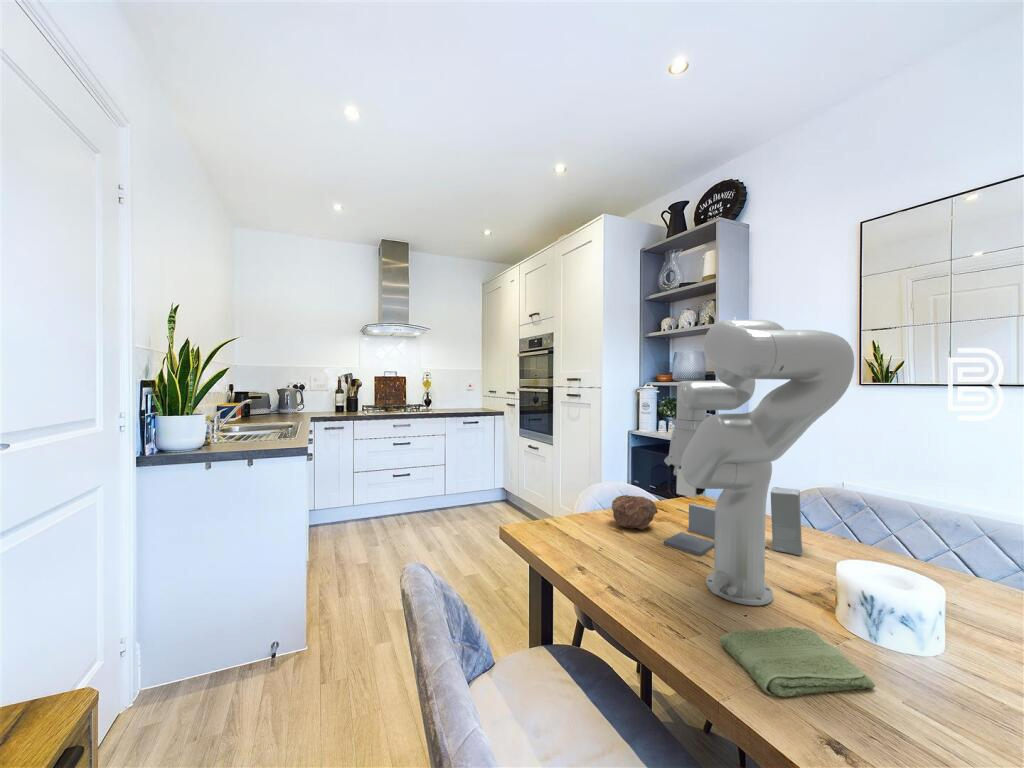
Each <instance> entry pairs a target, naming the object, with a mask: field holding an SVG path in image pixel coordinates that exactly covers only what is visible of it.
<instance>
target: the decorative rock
mask: <svg viewBox="0 0 1024 768" xmlns="http://www.w3.org/2000/svg"><path fill="white" fill-rule="evenodd" d="M611 510H612V511H613V514H612V516H613V519H614V520H615V523H616V525H617V526H621V527H624V528H627V529H638V530H640V531H642V530H644V529H646V528H647V527H648V526H649V524H650V523H651V522H652V521H653V520H654V517H655V515H656V514H657V513H658V512H659V511H658V509H657V506H656V503H654V502H653V500H652V499H649V498H647V497H645V496H639V495H638V496H635V495H628V494H624V495H619V496H617V497H615V498H614V499H613V500H612V502H611Z"/></svg>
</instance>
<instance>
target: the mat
mask: <svg viewBox="0 0 1024 768" xmlns="http://www.w3.org/2000/svg"><path fill="white" fill-rule="evenodd" d="M714 542H715V541H713V540H709V539H706V538H703V537H699V536H696V535H692V534H690V533H685V532H682V531H680V532H678V533H676V534H674V535H672V536H670V537H668V538H666V539H664V540H663V545H664V546H667V545H668V547H671V548H673V547H674V548H673V549H676V548H677V550H679V549H680V550H679V551H682V550H683V552H685V551H686V552H685V553H689V554H692V555H695V556H699V557H701V556H703V555H704V554H706V553H708V552H710V551H711V550H713V549H714Z"/></svg>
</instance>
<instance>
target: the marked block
mask: <svg viewBox="0 0 1024 768" xmlns="http://www.w3.org/2000/svg"><path fill="white" fill-rule="evenodd" d="M675 492H676V494H677V495H681V496H685V497H689V498H693V499H695V498H698V497H700V496H701V495H703V494H704V492H703V493H702V494H700V495H697V494H696V488H695V487H693V486H691V485H690V484H688V483H687V482H686V480H685V479H684V477H683V475H682V471H681V467H680V468H677V490H676V491H675Z"/></svg>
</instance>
